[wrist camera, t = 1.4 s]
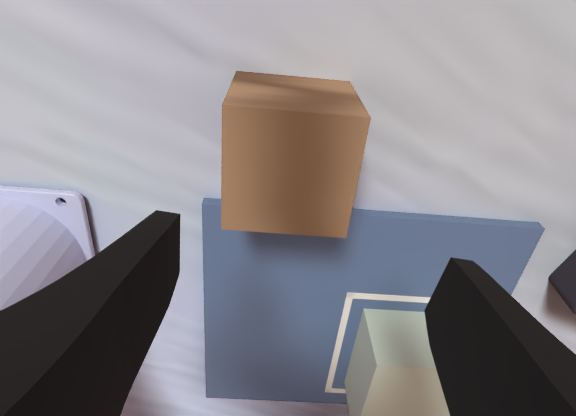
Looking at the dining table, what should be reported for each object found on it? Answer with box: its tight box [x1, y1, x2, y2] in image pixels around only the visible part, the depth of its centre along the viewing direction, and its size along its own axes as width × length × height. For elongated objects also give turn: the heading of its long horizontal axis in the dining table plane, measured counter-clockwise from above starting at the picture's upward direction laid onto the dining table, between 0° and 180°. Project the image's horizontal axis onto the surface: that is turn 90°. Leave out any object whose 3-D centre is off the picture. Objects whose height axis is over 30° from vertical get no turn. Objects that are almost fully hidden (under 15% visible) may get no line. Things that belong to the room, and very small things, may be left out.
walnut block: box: [221, 71, 371, 238], centre depth 17 cm, size 5×5×5 cm
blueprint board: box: [202, 198, 545, 404], centre depth 25 cm, size 18×16×1 cm
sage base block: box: [344, 308, 450, 416], centre depth 24 cm, size 7×7×4 cm
